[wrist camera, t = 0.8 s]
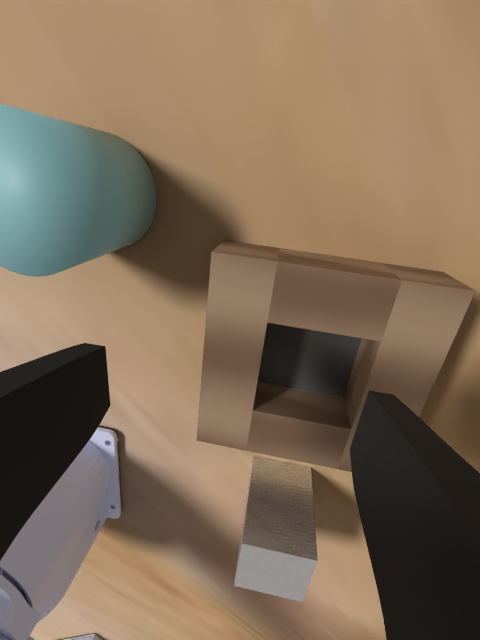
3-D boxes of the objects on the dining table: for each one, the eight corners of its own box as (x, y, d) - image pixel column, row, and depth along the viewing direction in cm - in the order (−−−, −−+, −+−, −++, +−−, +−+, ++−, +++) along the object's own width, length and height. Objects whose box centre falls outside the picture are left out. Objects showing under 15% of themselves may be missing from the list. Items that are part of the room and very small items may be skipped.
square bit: (299, 505, 24) (302, 602, 18) (246, 493, 24) (233, 585, 18) (310, 466, 22) (317, 560, 16) (253, 455, 22) (242, 543, 17)
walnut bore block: (377, 439, 20) (391, 479, 17) (208, 407, 21) (196, 440, 18) (443, 272, 16) (475, 291, 13) (224, 240, 17) (211, 251, 14)
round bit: (156, 254, 17) (95, 286, 12) (61, 239, 18) (-39, 264, 12) (157, 138, 15) (82, 113, 10) (48, 125, 16) (-82, 94, 10)
